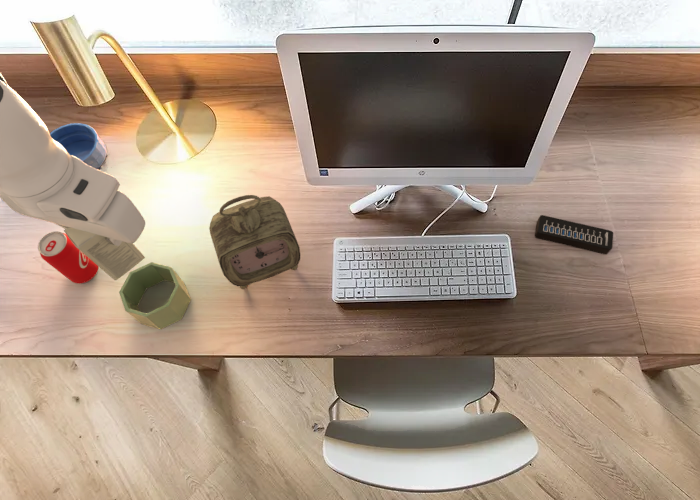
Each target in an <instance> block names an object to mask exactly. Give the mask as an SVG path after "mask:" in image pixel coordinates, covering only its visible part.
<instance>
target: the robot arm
mask: <svg viewBox="0 0 700 500" xmlns="http://www.w3.org/2000/svg"><path fill="white" fill-rule="evenodd" d="M50 133H51V132H50V130H49V128H48V127H47V125H46V124H45V122H44V121H43V120H42V119H41V117H40V116H39V115H38V114H37V112H36V111H34V109H33V108H32V107H31V106H30V105H29V104H28V102H27V101H26V100H25V99H24V98H22V96H20V95H19V93H17V91H16V90H14V89H13V88H12V87H11V86H9V84H8V82H7V81H6V79H5V77H4V76H3V74H2V72H0V199H1V200H2V201H3V202H4V203H5V205H7V206H8V207H9V208H10V209H11V210H13V211H14V212H15V213H17V214H19V215H21V216H22V215H23V216H24V217H25V216H26V217H29V218H32V219H33V218H34V219H37V220H40V221H44V222H48V223H52V224H54V225H56V226H58V227H60V228H62V229H63V230H65V229H66V228H68V227H70V228H74V229H78V230H82V231H85V232H89V233H93V234H97V235H100V236H104V237H106V239H105V240H106V241H107V242H109V244H112V245H116V246H119V245H120V244H121V243H122V241H123V242H127V243H131V244H132V243H133V244H134V243H136V242H137V241H138V239H139V238H140V237H141V235H142V233H143V231H144V229H145V227H146V220H145V218H144V216H143V215H142V214H141V212H140V210H139V209H138V208H137V205H135V203H134V202H133V201H132V200H131V199H130V198H129V196H127V195H126V194H125V193H124V192H122V191H121V190H119V188H120V186H121V184H120V182H119V181H118V179H117V178H116V177H114V175H111V174H109V173H107V172H104V171H103V170H100V169H99V168H98V169H96V168H93V167H91V166H89V165H87V164H86V163H84V162H82V161H81V160H79V159H78V158H76V157H75V156H72V155H71V156H70V154H69V153H68V152H67V151H66V149H65V148H64V147H63V146H62V145H61V144H60V143H58V142H57V141H55V140H53V139H52V138H51V136H50Z"/></svg>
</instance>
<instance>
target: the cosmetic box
mask: <svg viewBox="0 0 700 500" xmlns="http://www.w3.org/2000/svg"><path fill="white" fill-rule="evenodd" d="M63 233H65V234H66V235H67V236H68V237H69V239H70V240H71V241H72V243H73V244H74V245H75V246H76V247H77V248H78V249H79V250H80V251H81V252H83V253H84V254H85V255H86V256H87V257H88V258H89V259H91V260H92V261H93V262H94V263H95V264H96V265H98V266H99V267H98V268H100V270H102V271H103V272H104V273H105V274H106V275H107V276H109V277H110V278H111V279H113V280H114V281H117V280H119V279H120V278H121V277H123V276H124V275H126V274H127V273H128V272H130V271H132V269H133V268H135V267H136V266H137V265H138V264H140V263H141V262H142V261H144V259H145V258H146V257H145V255H144V254H143V253H142V252H141V250H140V249H138V247H137V246H136V245H135V244H134V243H132V244H131V243H127V242H123V241H122V243H121V244H120V245H119V246H116V245H112V244H109V242H107V241H106V240H105V239H106V237H104V236H100V235H97V234H93V233H89V232H85V231H82V230H78V229H74V228H70V227H68V228H66V229H63Z"/></svg>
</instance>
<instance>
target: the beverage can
mask: <svg viewBox="0 0 700 500" xmlns="http://www.w3.org/2000/svg"><path fill="white" fill-rule="evenodd" d="M37 250H38V252H39V255H40V257H41V259H42V260H43V261H44V262H46V263H47V264H48V265H50V266H51V267H52V268H53V269H55V270H56V271H57V272H59V273H60V274H62V275H63V277H64V278H65V277H66V278H67V280H70V282H72V283H73V284H76V285H77V284H78V285H79V284H86V283H88V282H90V281H91V280H93V278H95V277H96V276H97V273H98V271H99V268H100V267H99V266H98V265H96V264H95V263H94V262H93V261H92V260H91V259H89V258H88V257H87V256H86V255H85V254H84V253H83V252H81V251H80V250H79V249H78V248H77V247H76V246H75V245H74V244H73V243H72V241H71V240H70V239H69V237H68V236H67V235H66V233H65V232H61V231H51V232H48V233H46V234H45V235H44V236H42V238H41V239H40V240H39V242H38V244H37Z"/></svg>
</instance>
